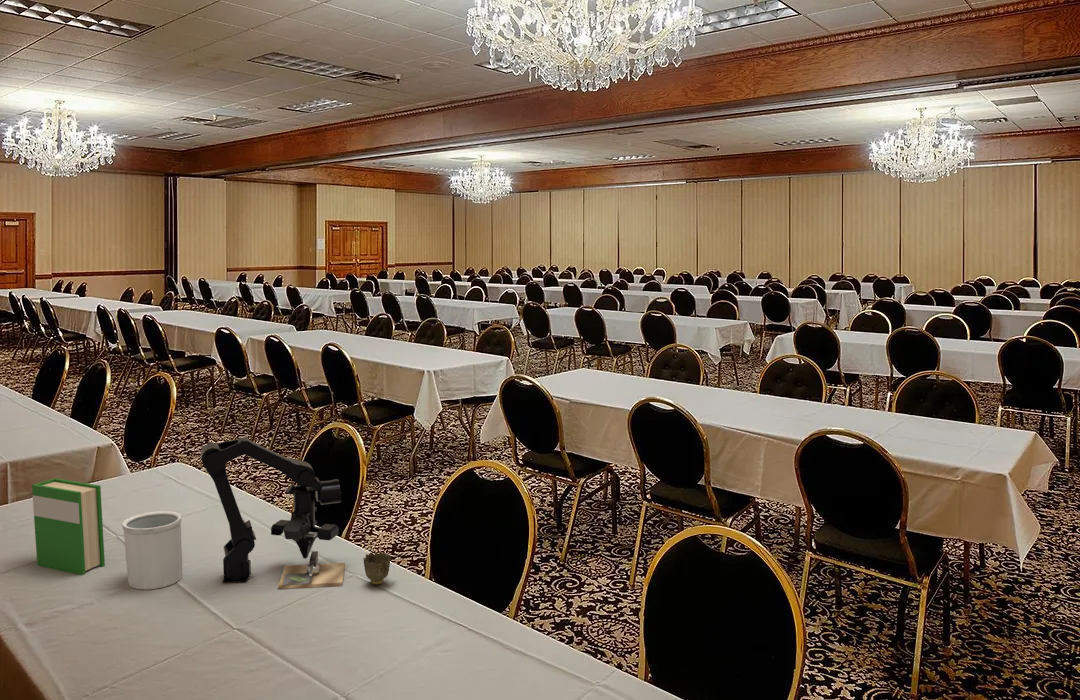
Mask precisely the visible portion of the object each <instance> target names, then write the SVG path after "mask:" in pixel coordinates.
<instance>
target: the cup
mask: <svg viewBox="0 0 1080 700" xmlns="http://www.w3.org/2000/svg"><path fill="white" fill-rule="evenodd" d="M362 559H363V566H364V572H365V575H366V577H367V578H368V579H369V580H370V584H371V585H372V586H375V587H379V586H382V585H383V584H384V582H385V579H386V578H387V576H388V574H389V571H390V566H391V554H389V553H387V554H386V553H385V552H382V551H380V552H379V553H378V552H377V551H376V552H375V553H374V552H370V553H366V554H365V557H363V558H362Z"/></svg>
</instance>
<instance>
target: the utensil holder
mask: <svg viewBox="0 0 1080 700" xmlns="http://www.w3.org/2000/svg"><path fill="white" fill-rule="evenodd" d="M181 525H182V515H181V514H180V513H179V512H175V511H169V510H167V511H166V510H161V511H160V510H159V511H150V512H145V513H144V512H143V513H140V514H137V515H134V516H131V517H128V518H127V519H126V518H125V520H124V521H123V522H122V525H121V526H122V529H123V536H124V548H125V552H124V553H125V561H126V572H127V573H126V574H127V581H128V582H127V583H128V586H129V587H131V588H133V589H137V590H156V589H161V588H165V587H166V588H167V587H168V586H171V585H174V584H175V583H177V582H179V581H180V580H181V579H182V578H183V549H182V548H183V547H182V546H183V545H182V526H181Z"/></svg>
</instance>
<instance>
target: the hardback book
mask: <svg viewBox="0 0 1080 700" xmlns="http://www.w3.org/2000/svg"><path fill="white" fill-rule="evenodd" d="M31 489H32V490H31V492H32V503H33V504H32V505H33V507H32V509H33V521H34V523H33V524H34V536H35V538H34V539H35V552H36V563H37V564H36V566H37V567H43V568H47V569H52V570H56V571H60V572H66V573H69V574H75V575H81V576H84V575H86V573H87V572H86V571H88V570H91V569H93V568H95V567H101V568H103V567H105V566H106V562H105V561H106V560H105V546H104V545H105V544H104V526H103V511H102V510H103V509H102V508H103V507H102V491H101V489H102V488H101V485H99V484H94V483H93V484H92V483H86V482H80V481H74V480H68V479H64V478H63V479H62V478H56V477H55V478H51V479H48V480H45V481H40V482H38V483H35V484H32V485H31Z"/></svg>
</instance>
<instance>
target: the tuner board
mask: <svg viewBox="0 0 1080 700" xmlns="http://www.w3.org/2000/svg"><path fill="white" fill-rule="evenodd" d="M318 564H319V573H318V574H314V575H312V576H309V574H307V573H306V566H307V565H308V564H294V565H290V564H289V565H284V567H283V571H282V573H281V577H280V580H279V583H278V585H277V586H278V590H287V589H289V590H290V589H291V590H292V589H307V588H311V589H312V588H326V587H329V588H330V587H343V582H344V576H345V570H346V569H345V568H346V562H333V563H318Z"/></svg>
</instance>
